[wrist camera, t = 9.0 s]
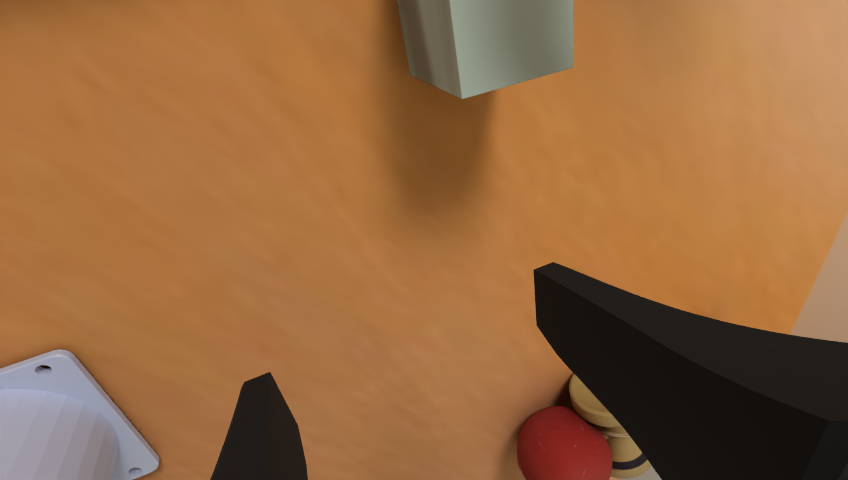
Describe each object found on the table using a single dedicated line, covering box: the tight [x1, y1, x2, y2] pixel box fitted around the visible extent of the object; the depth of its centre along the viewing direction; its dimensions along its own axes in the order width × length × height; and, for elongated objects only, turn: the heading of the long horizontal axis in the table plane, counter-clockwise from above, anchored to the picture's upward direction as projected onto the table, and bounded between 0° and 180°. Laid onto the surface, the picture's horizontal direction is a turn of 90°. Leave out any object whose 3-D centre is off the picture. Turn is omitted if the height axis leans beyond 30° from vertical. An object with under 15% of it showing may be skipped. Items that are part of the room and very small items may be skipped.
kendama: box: [517, 374, 651, 480], centre depth 31 cm, size 8×6×18 cm
